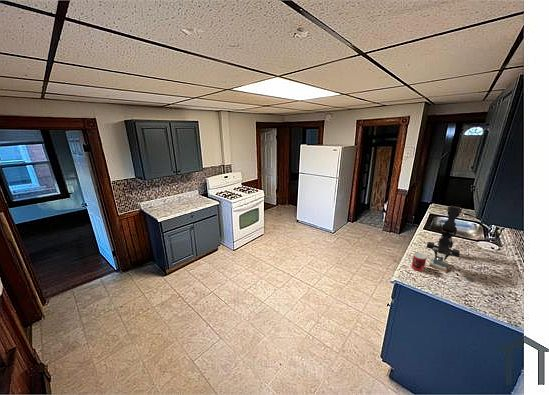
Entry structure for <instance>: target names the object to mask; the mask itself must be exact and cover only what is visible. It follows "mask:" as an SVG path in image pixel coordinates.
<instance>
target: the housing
mask: <svg viewBox="0 0 549 395" xmlns="http://www.w3.org/2000/svg"><path fill="white" fill-rule="evenodd" d="M433 258H434V261H433V264H436V265H439V266H442V262H443V261H444V257H442V256H439V255H437V258H436V257H435V256H434V257H433Z"/></svg>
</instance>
